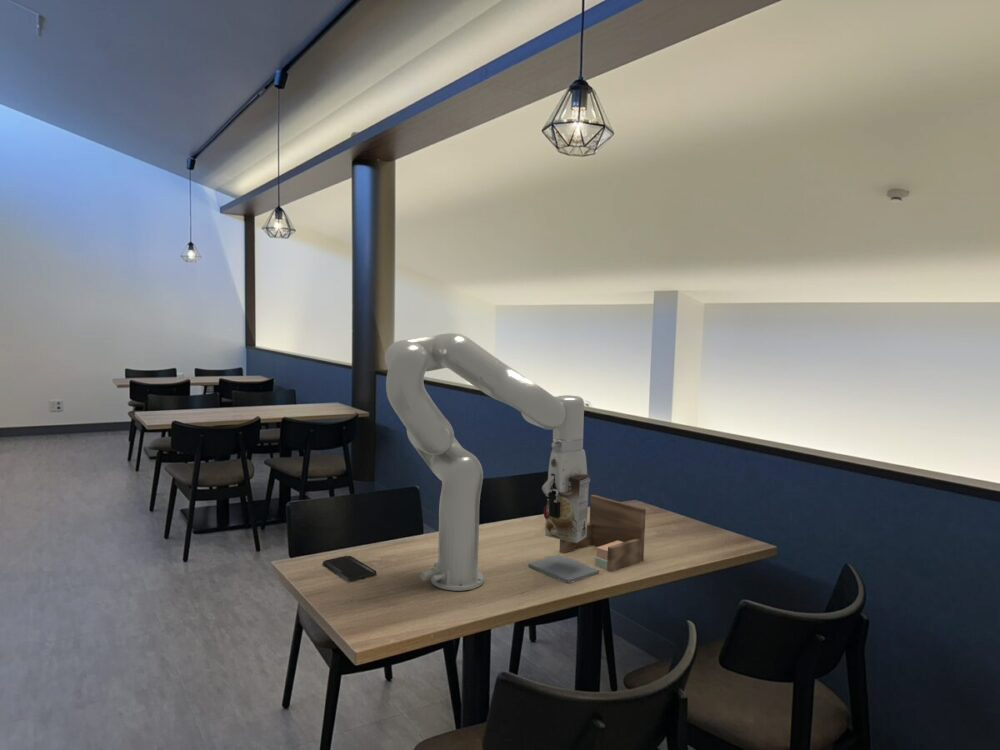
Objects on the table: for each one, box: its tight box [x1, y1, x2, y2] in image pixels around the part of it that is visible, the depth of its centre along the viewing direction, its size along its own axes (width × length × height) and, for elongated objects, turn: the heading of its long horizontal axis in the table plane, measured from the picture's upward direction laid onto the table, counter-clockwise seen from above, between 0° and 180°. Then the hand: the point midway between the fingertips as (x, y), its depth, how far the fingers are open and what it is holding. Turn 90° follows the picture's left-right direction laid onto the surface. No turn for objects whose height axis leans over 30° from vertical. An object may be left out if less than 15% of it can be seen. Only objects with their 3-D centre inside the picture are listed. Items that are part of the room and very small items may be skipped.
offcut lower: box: [594, 557, 607, 570], centre depth 173 cm, size 10×4×2 cm, turn 135°
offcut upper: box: [596, 541, 623, 560], centre depth 174 cm, size 9×4×2 cm, turn 133°
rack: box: [559, 494, 647, 572], centre depth 178 cm, size 14×18×14 cm
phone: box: [322, 555, 377, 583], centre depth 163 cm, size 8×1×15 cm
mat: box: [528, 554, 600, 584], centre depth 167 cm, size 11×14×1 cm
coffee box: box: [545, 474, 590, 543], centre depth 166 cm, size 9×6×16 cm
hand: (565, 513), depth 166 cm, fingers closed on coffee box, 7 cm apart
